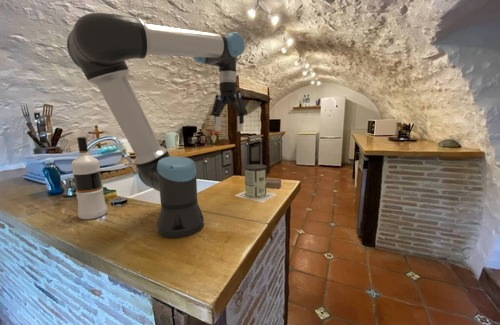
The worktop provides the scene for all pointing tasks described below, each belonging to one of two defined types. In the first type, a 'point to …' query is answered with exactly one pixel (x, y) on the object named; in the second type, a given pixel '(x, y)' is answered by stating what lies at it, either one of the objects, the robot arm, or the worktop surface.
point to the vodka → (88, 184)
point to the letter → (267, 197)
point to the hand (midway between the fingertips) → (228, 131)
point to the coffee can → (255, 181)
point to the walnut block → (273, 183)
